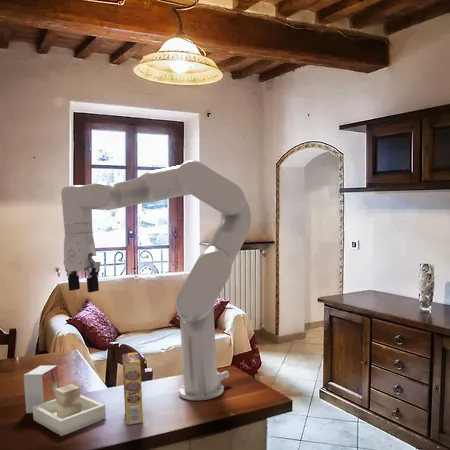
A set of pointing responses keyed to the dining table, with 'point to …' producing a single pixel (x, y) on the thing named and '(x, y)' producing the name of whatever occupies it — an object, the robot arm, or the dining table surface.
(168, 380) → the dining table surface
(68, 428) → the tray
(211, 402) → the dining table surface
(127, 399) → the candy box
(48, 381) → the small box
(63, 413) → the birch block
